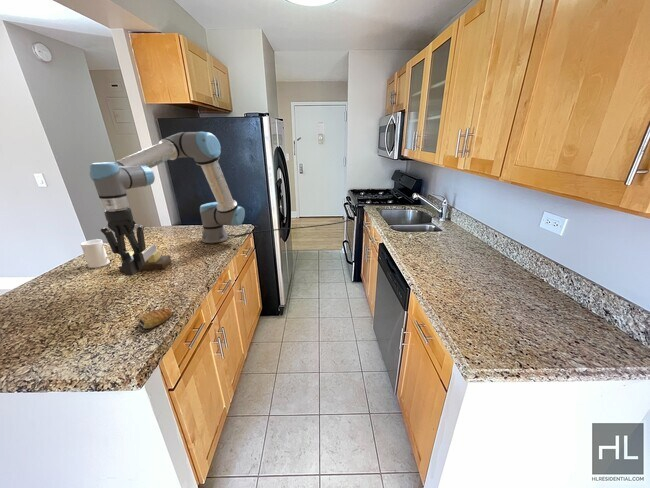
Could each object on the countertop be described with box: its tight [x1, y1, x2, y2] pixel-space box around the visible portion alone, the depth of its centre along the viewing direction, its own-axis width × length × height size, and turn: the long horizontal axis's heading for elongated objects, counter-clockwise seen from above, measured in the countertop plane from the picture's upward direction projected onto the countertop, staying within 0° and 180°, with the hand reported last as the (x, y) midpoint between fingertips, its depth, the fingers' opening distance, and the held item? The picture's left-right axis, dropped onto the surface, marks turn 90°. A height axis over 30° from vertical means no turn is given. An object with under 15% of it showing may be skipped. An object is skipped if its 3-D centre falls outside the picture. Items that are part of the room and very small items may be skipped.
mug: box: [80, 238, 114, 269], centre depth 128 cm, size 12×8×12 cm
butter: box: [119, 250, 148, 264], centre depth 126 cm, size 10×6×4 cm, turn 99°
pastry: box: [138, 308, 173, 330], centre depth 88 cm, size 9×7×4 cm
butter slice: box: [148, 249, 161, 263], centre depth 127 cm, size 3×6×4 cm, turn 9°
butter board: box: [117, 254, 172, 273], centre depth 128 cm, size 19×10×3 cm, turn 99°
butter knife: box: [121, 243, 158, 277], centre depth 104 cm, size 2×23×5 cm, turn 9°
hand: (135, 268), depth 99 cm, fingers closed on butter knife, 2 cm apart
